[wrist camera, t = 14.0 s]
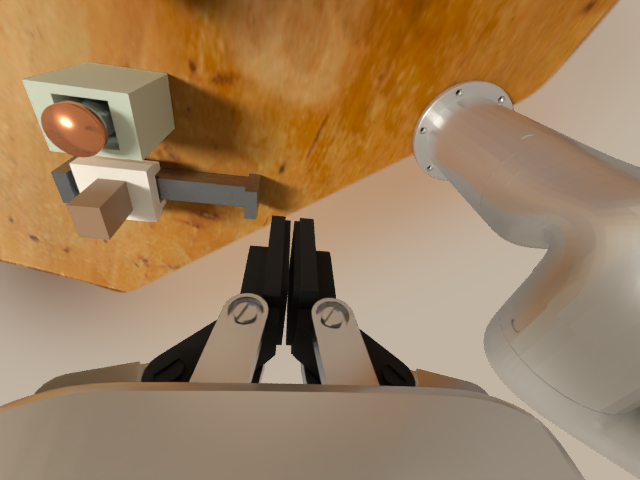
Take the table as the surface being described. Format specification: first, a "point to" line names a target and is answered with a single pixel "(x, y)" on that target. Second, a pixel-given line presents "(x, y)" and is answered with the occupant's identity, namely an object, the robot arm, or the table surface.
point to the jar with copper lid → (78, 126)
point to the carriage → (113, 194)
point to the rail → (185, 187)
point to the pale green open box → (112, 103)
